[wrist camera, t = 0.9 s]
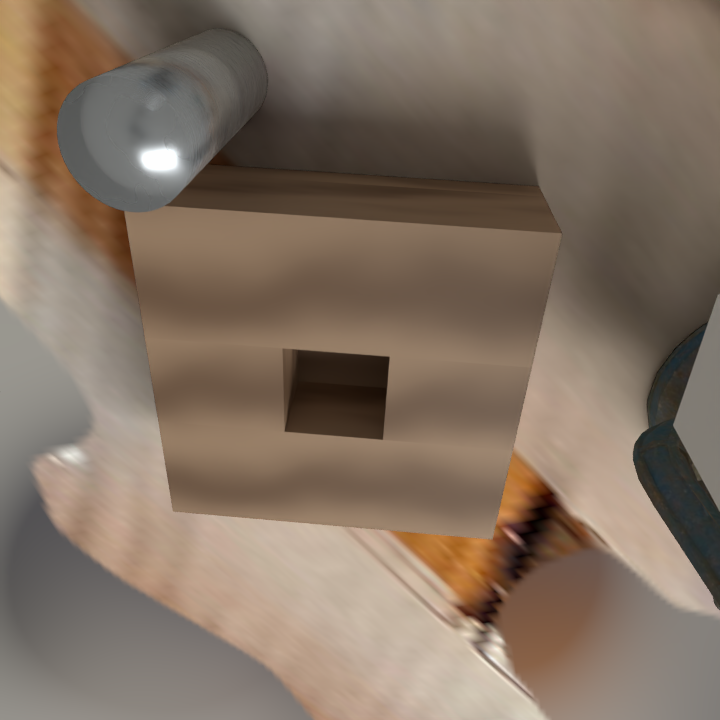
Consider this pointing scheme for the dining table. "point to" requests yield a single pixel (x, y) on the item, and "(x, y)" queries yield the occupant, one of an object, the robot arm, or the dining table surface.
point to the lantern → (679, 469)
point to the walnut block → (342, 343)
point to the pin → (160, 118)
